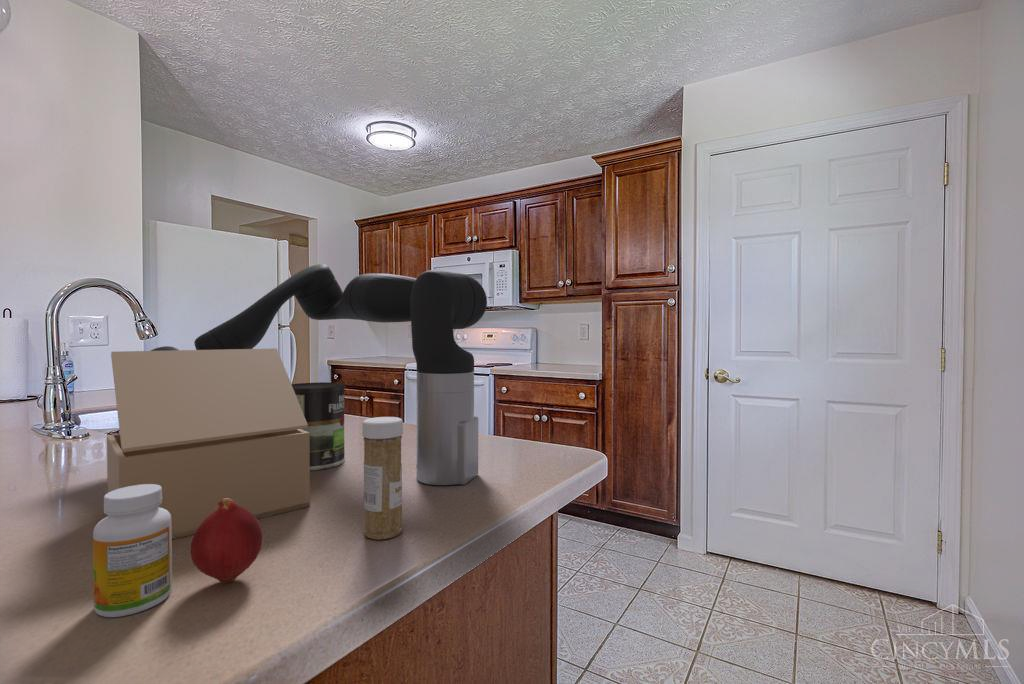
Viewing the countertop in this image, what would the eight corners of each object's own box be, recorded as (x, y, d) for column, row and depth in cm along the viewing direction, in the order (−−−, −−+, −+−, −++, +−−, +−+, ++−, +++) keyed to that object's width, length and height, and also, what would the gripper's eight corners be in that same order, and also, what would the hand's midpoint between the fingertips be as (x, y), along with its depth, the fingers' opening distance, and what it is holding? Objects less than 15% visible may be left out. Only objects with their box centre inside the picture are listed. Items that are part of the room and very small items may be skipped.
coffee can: (353, 455, 92) (353, 382, 92) (332, 471, 82) (332, 388, 81) (299, 455, 92) (299, 381, 92) (271, 471, 82) (271, 388, 81)
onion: (212, 567, 48) (212, 488, 48) (272, 565, 49) (272, 486, 49) (177, 599, 42) (176, 509, 42) (245, 596, 43) (245, 507, 43)
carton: (107, 511, 63) (106, 435, 63) (271, 479, 77) (271, 417, 77) (119, 552, 51) (118, 459, 51) (309, 506, 65) (309, 432, 65)
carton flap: (111, 355, 60) (111, 351, 60) (276, 351, 74) (276, 348, 73) (122, 452, 52) (122, 448, 51) (306, 428, 65) (307, 425, 65)
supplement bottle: (106, 592, 44) (105, 485, 43) (178, 580, 46) (177, 478, 46) (83, 625, 39) (81, 505, 38) (164, 610, 41) (163, 496, 41)
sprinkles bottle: (408, 535, 56) (408, 420, 56) (369, 544, 54) (369, 424, 53) (395, 522, 60) (394, 414, 60) (357, 530, 57) (357, 417, 57)
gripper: (132, 361, 71) (147, 369, 58) (234, 358, 80) (265, 364, 67) (133, 412, 71) (148, 431, 59) (234, 403, 80) (265, 418, 68)
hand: (211, 395), depth 63 cm, fingers closed
